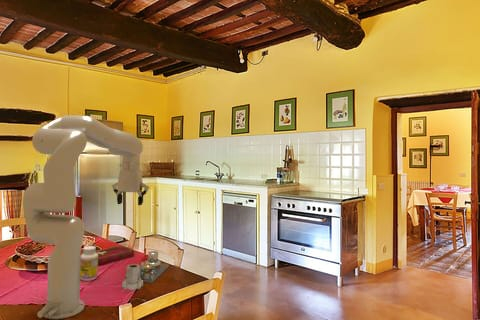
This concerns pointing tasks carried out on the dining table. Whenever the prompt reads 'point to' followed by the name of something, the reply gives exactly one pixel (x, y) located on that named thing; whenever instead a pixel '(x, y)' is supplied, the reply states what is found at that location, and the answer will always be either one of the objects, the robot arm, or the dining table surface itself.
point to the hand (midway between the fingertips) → (129, 204)
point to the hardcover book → (114, 254)
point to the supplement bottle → (89, 264)
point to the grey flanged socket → (132, 278)
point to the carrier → (151, 268)
